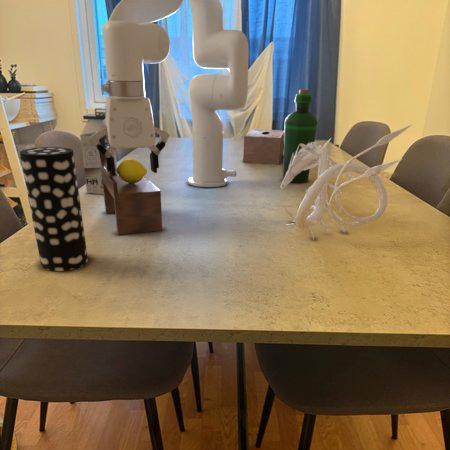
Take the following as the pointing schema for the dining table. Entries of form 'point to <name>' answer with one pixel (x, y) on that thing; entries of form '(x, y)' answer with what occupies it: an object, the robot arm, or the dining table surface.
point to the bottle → (299, 132)
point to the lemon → (131, 170)
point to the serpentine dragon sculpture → (320, 186)
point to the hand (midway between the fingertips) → (133, 173)
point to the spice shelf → (132, 204)
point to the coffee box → (94, 163)
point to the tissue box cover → (263, 146)
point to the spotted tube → (55, 207)
